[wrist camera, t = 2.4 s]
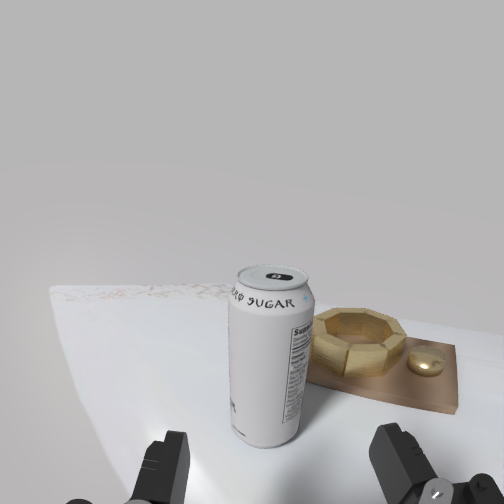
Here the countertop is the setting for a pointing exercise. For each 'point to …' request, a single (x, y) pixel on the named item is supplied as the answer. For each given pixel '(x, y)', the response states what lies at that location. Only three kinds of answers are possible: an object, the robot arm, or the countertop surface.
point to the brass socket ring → (367, 345)
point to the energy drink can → (268, 352)
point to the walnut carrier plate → (398, 380)
